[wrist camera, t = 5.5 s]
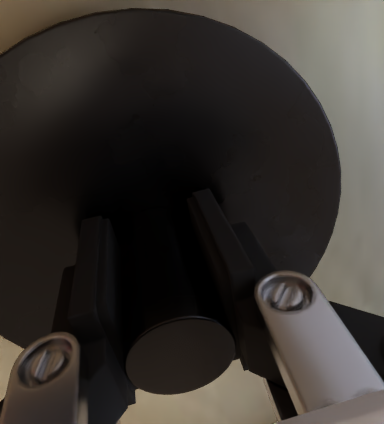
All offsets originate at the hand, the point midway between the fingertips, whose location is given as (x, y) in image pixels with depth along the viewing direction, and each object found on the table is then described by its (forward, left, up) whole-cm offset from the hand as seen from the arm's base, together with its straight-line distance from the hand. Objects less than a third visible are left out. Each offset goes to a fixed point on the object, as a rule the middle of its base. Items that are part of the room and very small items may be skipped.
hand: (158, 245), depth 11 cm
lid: (0, 0, -1) cm, 1 cm away
